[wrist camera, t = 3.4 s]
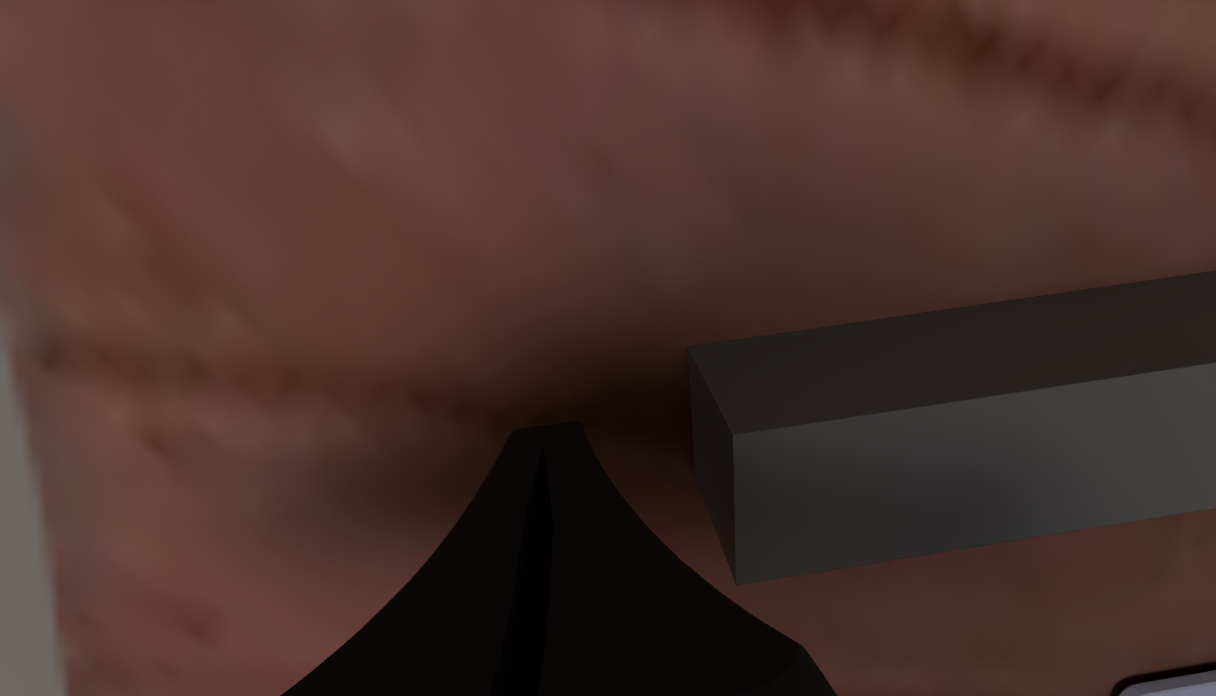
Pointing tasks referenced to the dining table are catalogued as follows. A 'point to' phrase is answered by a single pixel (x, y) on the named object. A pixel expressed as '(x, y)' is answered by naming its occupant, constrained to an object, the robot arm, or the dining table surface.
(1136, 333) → the plug
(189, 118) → the dining table surface
